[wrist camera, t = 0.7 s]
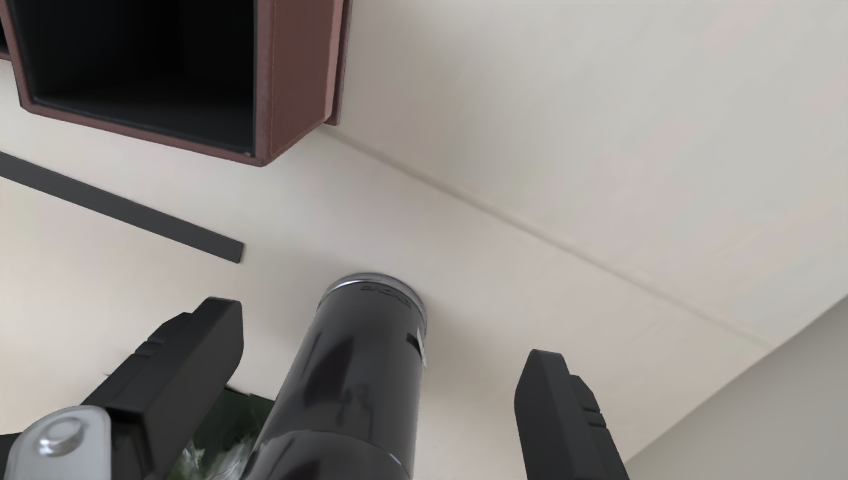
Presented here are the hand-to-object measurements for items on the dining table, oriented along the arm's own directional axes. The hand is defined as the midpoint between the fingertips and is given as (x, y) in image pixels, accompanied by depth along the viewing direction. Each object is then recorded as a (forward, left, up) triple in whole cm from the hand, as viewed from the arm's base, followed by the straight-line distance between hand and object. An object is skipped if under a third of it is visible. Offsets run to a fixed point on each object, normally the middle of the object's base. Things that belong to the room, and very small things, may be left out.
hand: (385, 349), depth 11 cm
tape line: (-13, +21, -19) cm, 31 cm away
